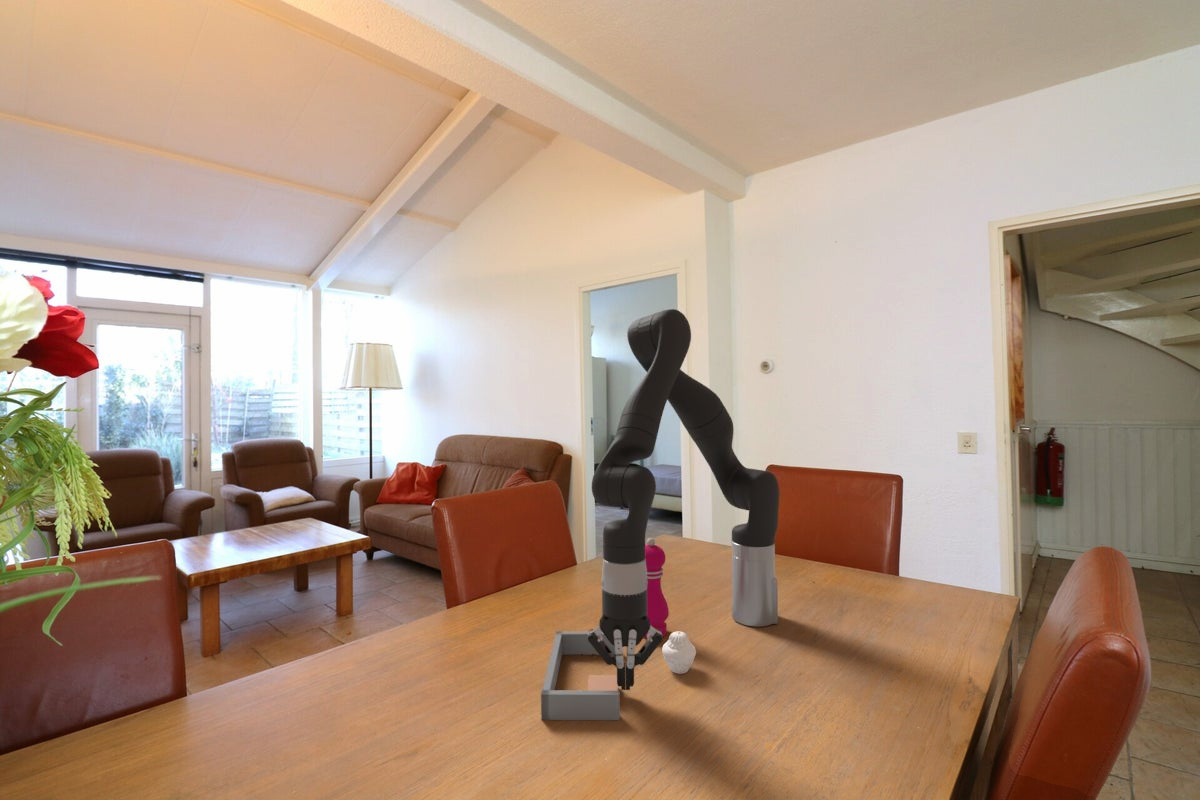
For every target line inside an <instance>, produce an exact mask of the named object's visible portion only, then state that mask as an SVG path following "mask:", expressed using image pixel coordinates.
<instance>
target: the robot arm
mask: <svg viewBox="0 0 1200 800" xmlns="http://www.w3.org/2000/svg"><path fill="white" fill-rule="evenodd" d="M626 333H627V335H626V337H627V342H628V345H629V348H630V350H631V352H632V354H633V355H634V357H635V359H636V360H637V361H638V363H639V365H640V366H641V367H642V368H643V370H644V371H645V372H646V374H645V375H644V377H643V378H642V379H641V380H640V382H639V384H638V385H637V386H636V387H635V389H634V390H633V391H632V393H631V395H629V397H628V399H627V401H626V402H625V405H624V407H623V409H622V412H621V415H620V419H619V421H618V425H617V429H616V432H615V437H614V439H613V441H612V443H611V444H610V445H609V447H608V449H607V451H606V452H605V454H604V455H603V457H602V459H600V462H599V464H598V466H597V467H596V469H595V470H594V474H593V476H592V479H591V480H592V481H591V494H592V497H593V498H594V500H595V502H597V504H598V505H601V506H604V507H611V508H620V509H621V508H622V509H628V516H627V518H624V519H616V520H612V521H609V522H607V523H606V524H605V525H604V527H603V532H602V552H603V553H602V555H603V556H602V557H603V559H602V566H601V567H602V569H601V614H602V615H601V617H600V619H599V622H598V623H599V625H598V626H596V627H595V628H591V629H589V630H588V631H589V632H588V641H589V642H590V643H591V645H592V646H593V647H594V648H595V650H596V651H597V652H598V654H599V655H598V656H600V658H601V659H602V660H603V661H604V662H605V664H606V665H607V666H611V665H613V666H615V668H616V675H617V684H618V687H620V688H621V689H620V690H621V691H631V687H634V685H635V667H636V666H639V665H640V666H643V665H645V664H646V662H647V661H648V660H649V658H650V657H651V656H652V655H653V653H654V652H655V651H656V649H657V648H658V647H659V646H660V644H661V643H662V641H663V637H662V633H661V630H660V629H655V628H653V627H652V626H651V625H650V620H649V618H648V616H647V584H648V581H647V568H646V560H645V545H646V532H647V527H648V521H649V517H650V512H651V509H652V506H653V503H654V500H655V499H654V498H655V497H656V489H657V488H656V487H657V485H656V478H655V475H654V474H653V472H652V471H651V469H649V468H647V467H646V466H641V465H630V464H632V463H634V462H638V461H642V460H646V459H648V458H650V457H651V456H652V455H653V453H654V451H655V447H656V443H657V438H658V434H659V429H660V425H661V421H662V419H663V418H662V416H663V414H664V410H665V406H666V403H667V401H668V403H669V404H670V406H671V407H672V408H673V410H674V411H675V413H676V414H677V416H678V418H679V420H680V422H681V423H682V425H683V427H684V428H685V430H686V431H687V434H688V435H689V436H690V438H691V439H692V441H693V442H694V444H695V445H696V446H697V448H698V450H699V451H700V453H701V454H702V456H703V458H704V459H705V461H706V463H707V465H708V466H709V469H710V470H711V472H712V474H713V476H714V477H715V480H716V483H717V484H718V486H719V488H720V490H721V492H722V495H723V497H724V499H725V500H726V501H727V502H728V504H730V505H731V506H733V507H734V508H737V509H740V510H743V511H748V517H747V518H748V519H747V522H746V523H741V524H737V525H735V526H733V527H732V529H731V617H732V619H733V620H734V621H735V622H737V623H738V624H741V625H744V626H748V627H758V628H759V627H767V626H770V625H773V624H779V618H778V617H779V613H778V612H779V605H778V604H779V600H778V599H779V597H778V595H779V593H778V592H779V591H778V590H779V589H778V588H779V587H778V586H779V584H778V583H779V582H778V578H777V577H776V574H775V573H776V572H775V571H776V566H775V565H776V562H775V561H776V559H775V558H776V557H775V556H776V554H775V553H776V550H775V549H776V545H775V544H776V543H775V541H776V534H777V531H778V527H779V510H780V509H779V507H780V487H779V482H778V481H779V480H778V479H777V477H776V476H775V474H774V473H773V472H771V471H767V470H762V469H756V468H749V467H748V468H747V467H745V466H744V465H743V464H742V462H741V461H740V460H739V459H738V456H737V455H736V454H735V452H734V450H733V440H734V429H735V428H734V422H733V419H732V417H731V415H730V413H729V412H728V410H727V408H726V406H725V405H724V403H723V402H722V400H721V398H720V397H719V396H718V394H717V393H715V392H714V391H713V390H711V389H710V388H709V387H708V386H706V385H704V384H703V383H702V382H700V381H698V380H697V379H695V378H693V377H691V376H690V375H689V374H687V373H685V371H683V370H682V366H683V363H684V361H685V358H686V356H687V354H688V351H689V349H690V346H691V341H692V330H691V326H690V322H689V321H688V319H687V317H686V316H685V314H684V313H682V312H681V310H678V309H674V308H671V309H670V308H669V309H665V310H661V311H658V312H655V313H653V314H649V315H647V316H644V317H641V318H638V319H636V320H634V321H632V322H631V323H630V324H629V326H628V328H627V332H626ZM602 632H603V633H604V635H605V636H606V637H607V639H608V640H609V642H610V643H611V644H612V645H614V646H615V654H614V653H612V651H611V650H610V649H609V648H608V646H607V645H606V644H605V642H604V641H603V640H602V639H603V635H602ZM647 632H648V635H647V638H646V639H647V640H646V641H645V642H644V644H643V645H642V646H641V648H640V649H639V650H638V651H637V653H636V648H637V646H638V645H639V644H640V643H641V642H642V640H643V639H644V638H645V637H644V636H645V635H646V634H647ZM624 647H626V658H624V650H623V649H624ZM625 659H626V662H625Z"/></svg>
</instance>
